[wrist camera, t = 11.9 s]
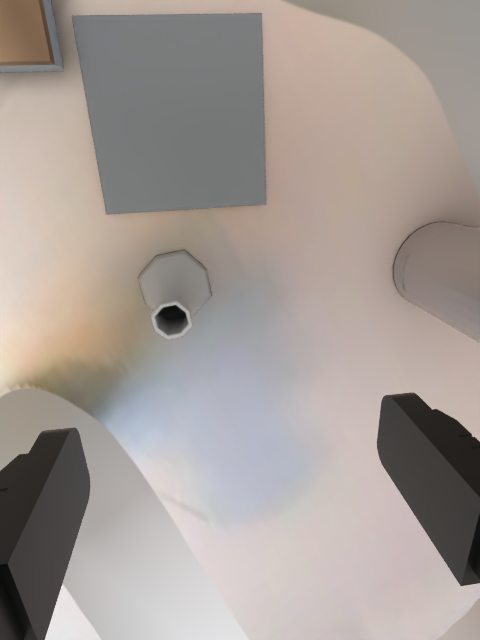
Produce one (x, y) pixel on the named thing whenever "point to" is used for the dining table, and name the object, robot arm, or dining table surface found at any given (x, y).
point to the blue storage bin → (54, 43)
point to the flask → (174, 292)
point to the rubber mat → (175, 109)
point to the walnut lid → (24, 34)
